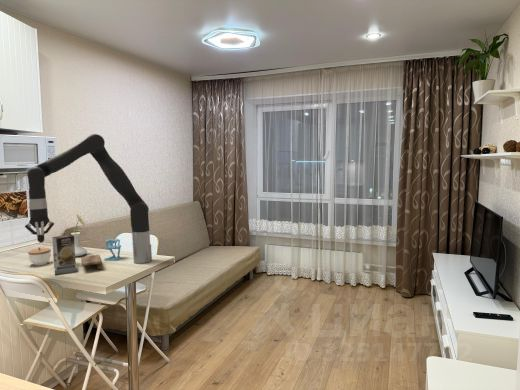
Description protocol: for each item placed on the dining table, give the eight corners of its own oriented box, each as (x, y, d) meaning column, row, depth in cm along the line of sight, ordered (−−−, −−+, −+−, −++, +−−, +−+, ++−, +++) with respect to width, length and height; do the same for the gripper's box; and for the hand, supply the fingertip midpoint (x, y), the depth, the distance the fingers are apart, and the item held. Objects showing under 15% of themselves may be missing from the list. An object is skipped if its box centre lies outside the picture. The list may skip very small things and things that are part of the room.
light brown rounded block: (99, 262, 202) (99, 254, 202) (102, 269, 188) (101, 261, 188) (81, 265, 198) (81, 256, 197) (83, 272, 184) (82, 263, 183)
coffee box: (58, 268, 193) (56, 238, 191) (53, 266, 197) (51, 237, 196) (76, 264, 200) (74, 235, 199) (71, 262, 204) (69, 234, 203)
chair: (123, 256, 214) (122, 236, 213) (117, 260, 206) (116, 239, 205) (110, 257, 215) (109, 236, 214) (104, 260, 206) (102, 239, 205)
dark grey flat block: (76, 268, 193) (76, 263, 193) (77, 271, 186) (77, 267, 186) (55, 271, 188) (55, 266, 188) (55, 275, 181) (54, 270, 181)
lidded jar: (56, 261, 206) (54, 245, 205) (40, 267, 196) (38, 250, 195) (41, 260, 209) (39, 244, 208) (24, 266, 199) (23, 249, 198)
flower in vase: (81, 257, 214) (78, 215, 211) (62, 258, 214) (59, 216, 212) (92, 252, 227) (89, 212, 224) (74, 252, 227) (71, 213, 225)
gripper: (54, 205, 185) (56, 239, 187) (23, 208, 179) (26, 242, 181) (53, 207, 179) (56, 242, 180) (21, 209, 173) (24, 245, 174)
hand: (41, 242), depth 181 cm, fingers closed
